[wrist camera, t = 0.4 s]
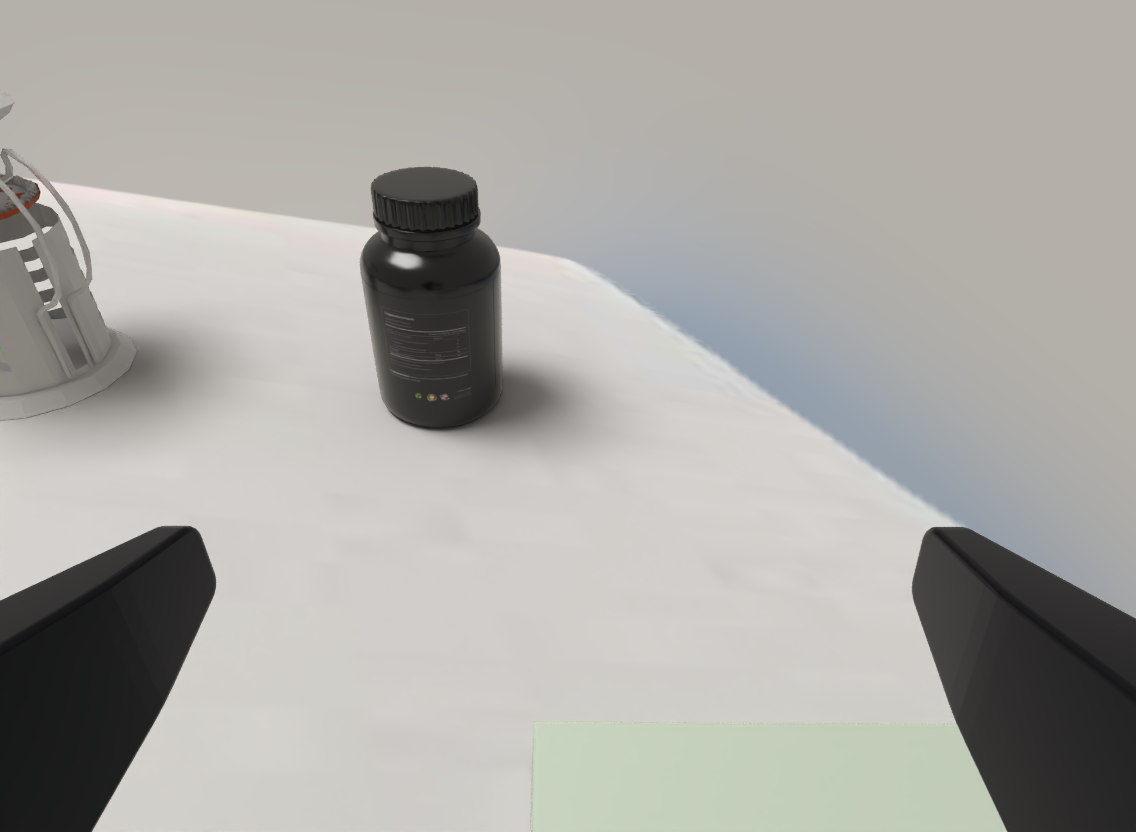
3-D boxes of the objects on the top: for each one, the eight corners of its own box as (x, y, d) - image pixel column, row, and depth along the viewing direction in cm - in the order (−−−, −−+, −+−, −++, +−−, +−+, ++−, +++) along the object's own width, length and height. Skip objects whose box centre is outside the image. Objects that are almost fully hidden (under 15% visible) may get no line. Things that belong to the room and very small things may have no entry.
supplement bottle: (391, 360, 40) (364, 155, 32) (504, 363, 40) (503, 161, 33) (368, 431, 34) (331, 204, 27) (500, 433, 35) (498, 211, 27)
